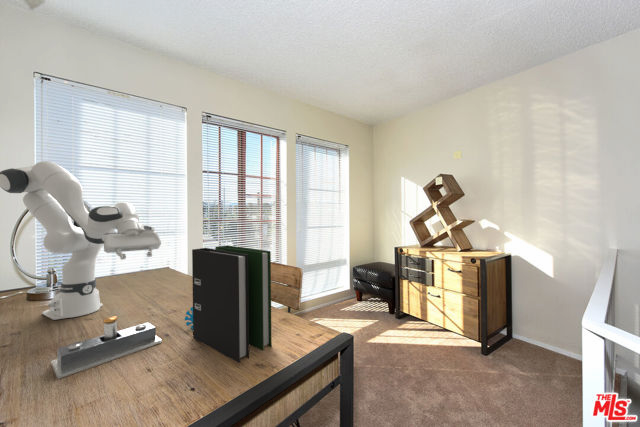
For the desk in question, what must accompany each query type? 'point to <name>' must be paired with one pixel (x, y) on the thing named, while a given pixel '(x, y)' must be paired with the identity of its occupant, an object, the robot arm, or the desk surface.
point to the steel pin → (110, 328)
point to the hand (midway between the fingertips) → (137, 257)
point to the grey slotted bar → (103, 349)
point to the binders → (232, 299)
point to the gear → (189, 318)
